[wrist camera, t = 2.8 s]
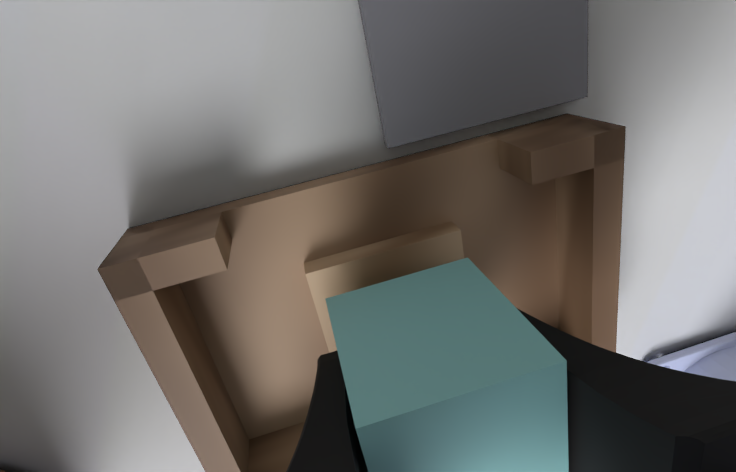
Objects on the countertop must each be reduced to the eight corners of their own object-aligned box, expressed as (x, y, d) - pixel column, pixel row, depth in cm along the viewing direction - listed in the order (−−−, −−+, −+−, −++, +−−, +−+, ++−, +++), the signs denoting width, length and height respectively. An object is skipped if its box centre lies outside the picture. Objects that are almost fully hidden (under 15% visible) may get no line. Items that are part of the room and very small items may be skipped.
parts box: (567, 113, 15) (625, 126, 13) (569, 340, 20) (614, 383, 17) (127, 228, 14) (97, 269, 11) (233, 448, 18) (228, 513, 16)
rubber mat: (579, -162, 12) (589, -168, 12) (579, 95, 15) (587, 96, 15) (336, -115, 12) (338, -120, 11) (385, 145, 15) (388, 148, 14)
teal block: (467, 257, 14) (566, 360, 9) (481, 369, 16) (569, 500, 11) (325, 298, 13) (355, 428, 9) (357, 409, 15) (395, 563, 11)
